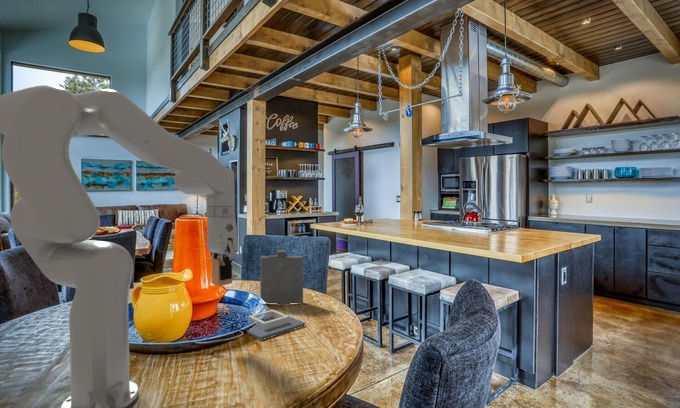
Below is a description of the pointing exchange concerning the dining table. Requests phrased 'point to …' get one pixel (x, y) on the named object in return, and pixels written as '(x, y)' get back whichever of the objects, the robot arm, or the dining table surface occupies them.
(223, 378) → the dining table surface
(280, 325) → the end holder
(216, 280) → the connector plug
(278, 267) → the hip flask
